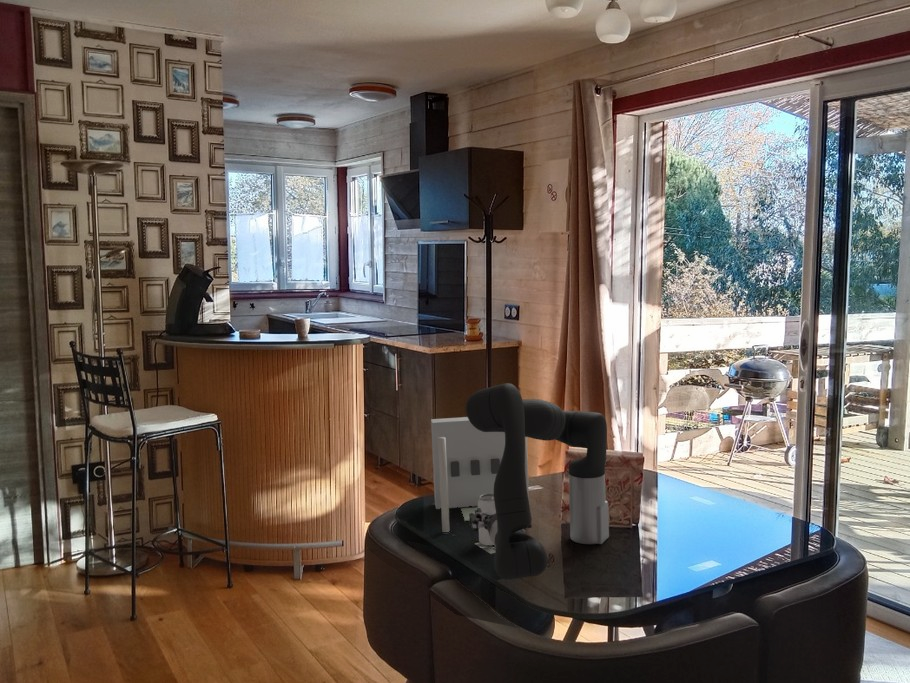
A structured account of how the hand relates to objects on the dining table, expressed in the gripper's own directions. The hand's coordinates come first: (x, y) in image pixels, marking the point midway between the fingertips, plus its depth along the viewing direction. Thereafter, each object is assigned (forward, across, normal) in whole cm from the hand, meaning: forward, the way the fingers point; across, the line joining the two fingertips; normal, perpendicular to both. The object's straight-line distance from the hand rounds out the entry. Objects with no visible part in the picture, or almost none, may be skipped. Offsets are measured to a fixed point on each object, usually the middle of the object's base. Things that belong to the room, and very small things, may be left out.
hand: (495, 510), depth 191 cm
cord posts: (+21, 0, +12) cm, 24 cm away
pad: (+33, 0, +12) cm, 35 cm away
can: (+12, 0, +12) cm, 17 cm away
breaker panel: (+44, 0, +11) cm, 45 cm away
